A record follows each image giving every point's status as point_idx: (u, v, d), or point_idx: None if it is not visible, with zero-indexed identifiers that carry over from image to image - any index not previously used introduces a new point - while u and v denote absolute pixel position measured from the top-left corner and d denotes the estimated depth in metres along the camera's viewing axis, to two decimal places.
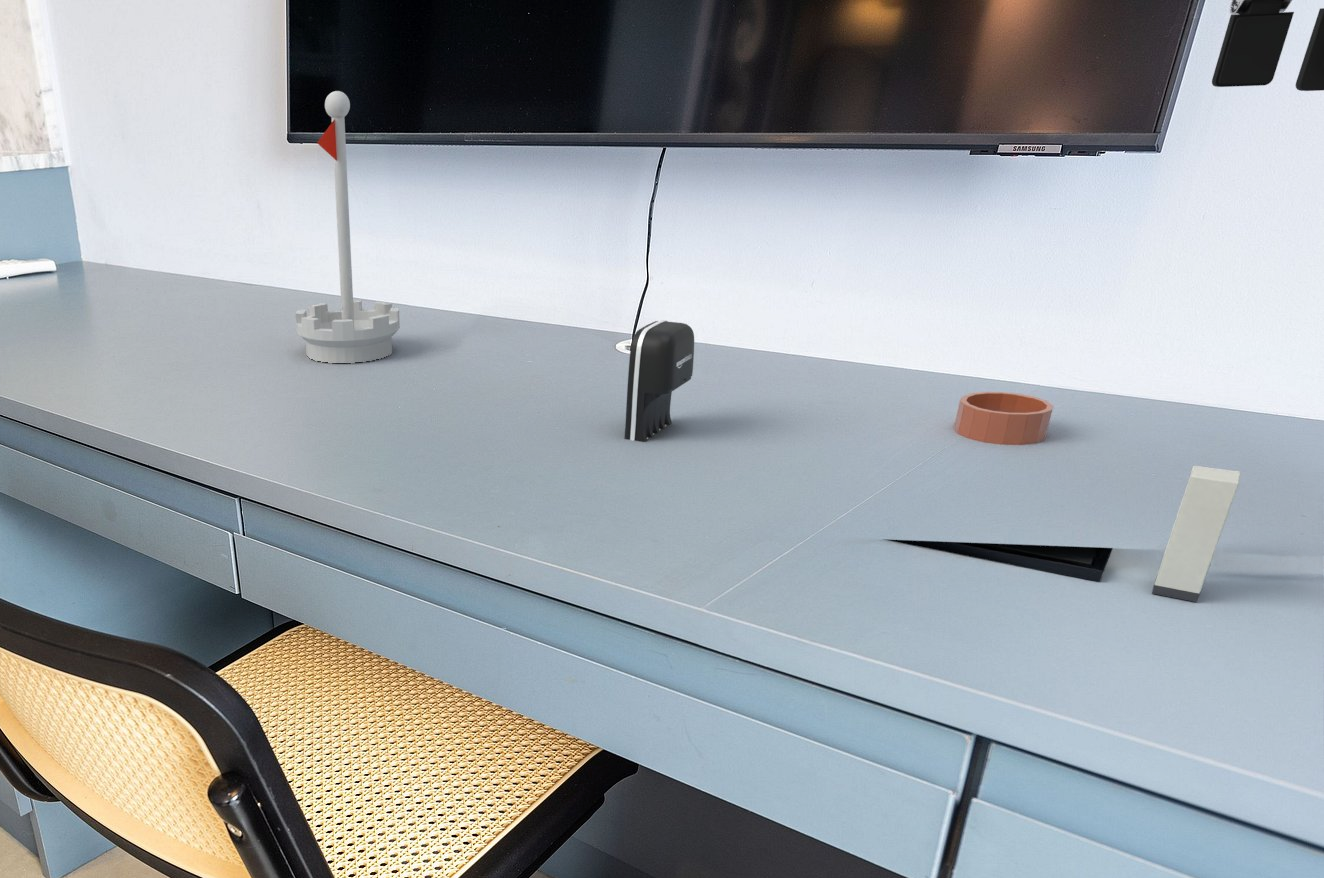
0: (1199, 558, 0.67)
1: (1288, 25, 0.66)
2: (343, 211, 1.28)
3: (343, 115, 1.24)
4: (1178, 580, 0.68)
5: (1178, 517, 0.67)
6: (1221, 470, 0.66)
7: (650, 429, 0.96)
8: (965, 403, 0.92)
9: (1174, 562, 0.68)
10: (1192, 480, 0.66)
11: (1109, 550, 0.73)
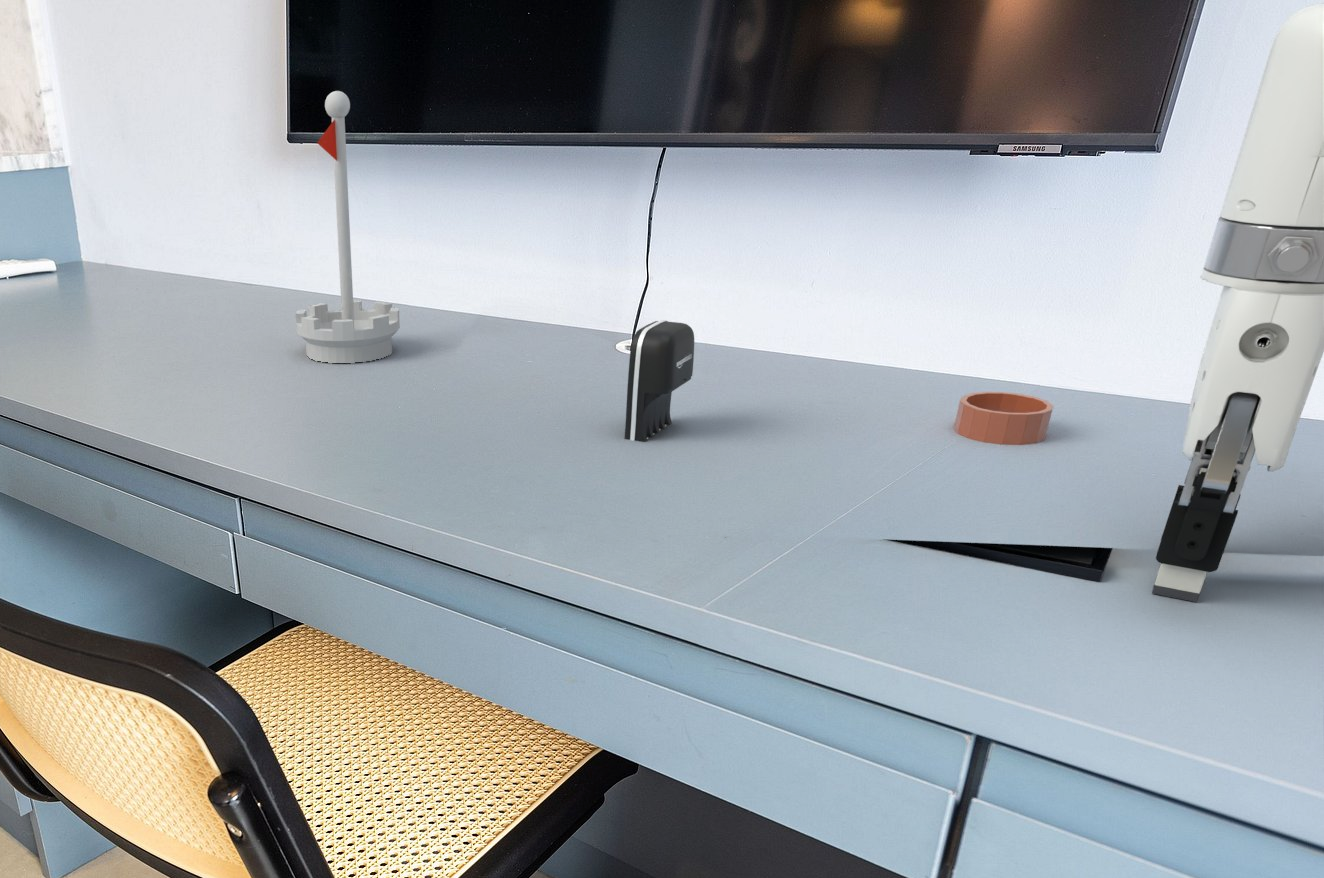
0: None
1: None
2: (343, 211, 1.28)
3: (343, 115, 1.24)
4: (1178, 580, 0.68)
5: None
6: None
7: (650, 429, 0.96)
8: (965, 403, 0.92)
9: None
10: None
11: (1109, 550, 0.73)
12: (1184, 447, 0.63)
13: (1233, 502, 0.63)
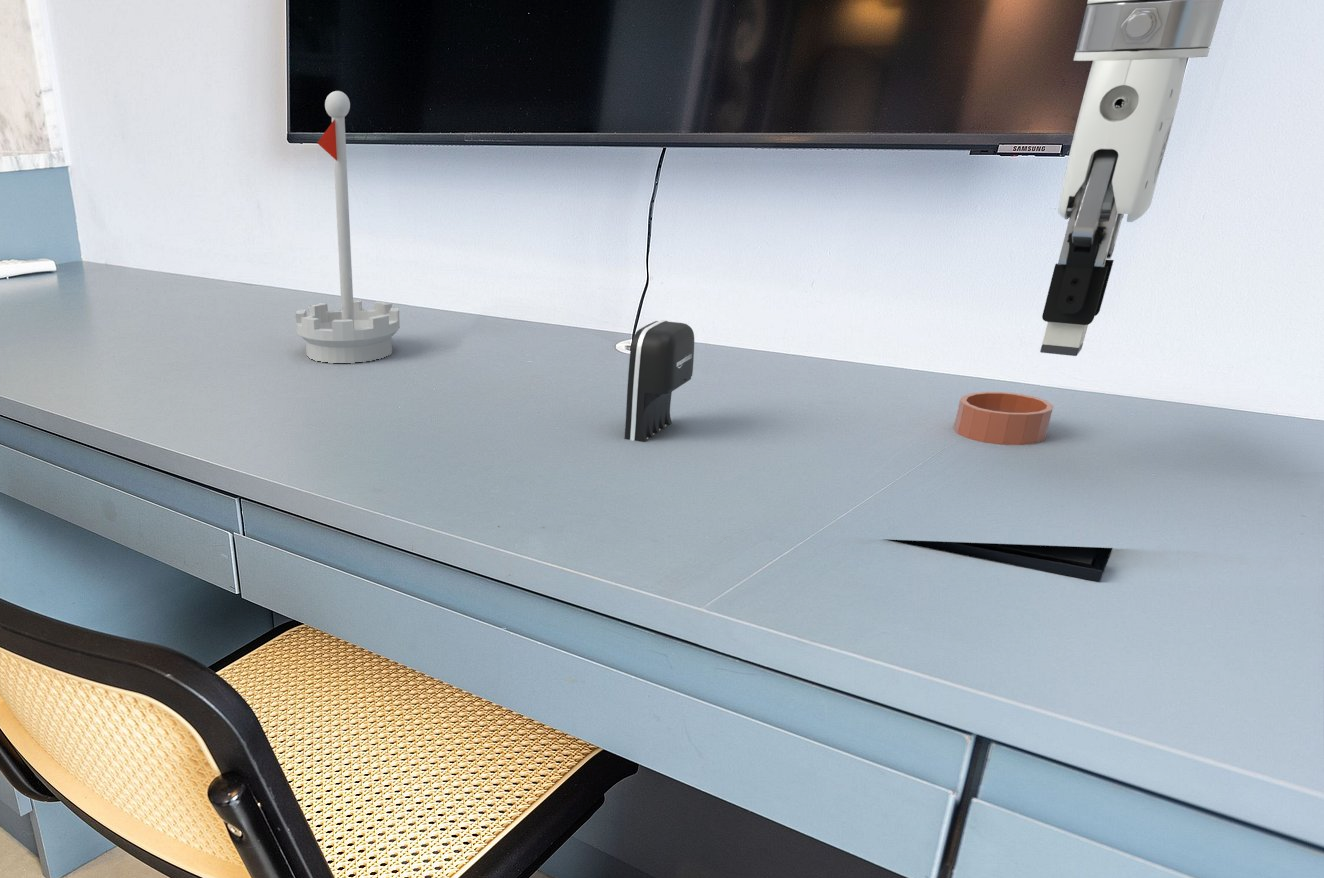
0: None
1: (1107, 271, 0.78)
2: (343, 211, 1.28)
3: (343, 115, 1.24)
4: (1061, 337, 0.79)
5: None
6: None
7: (650, 429, 0.96)
8: (965, 403, 0.92)
9: None
10: None
11: (1109, 550, 0.73)
12: (1059, 206, 0.74)
13: (1101, 255, 0.75)
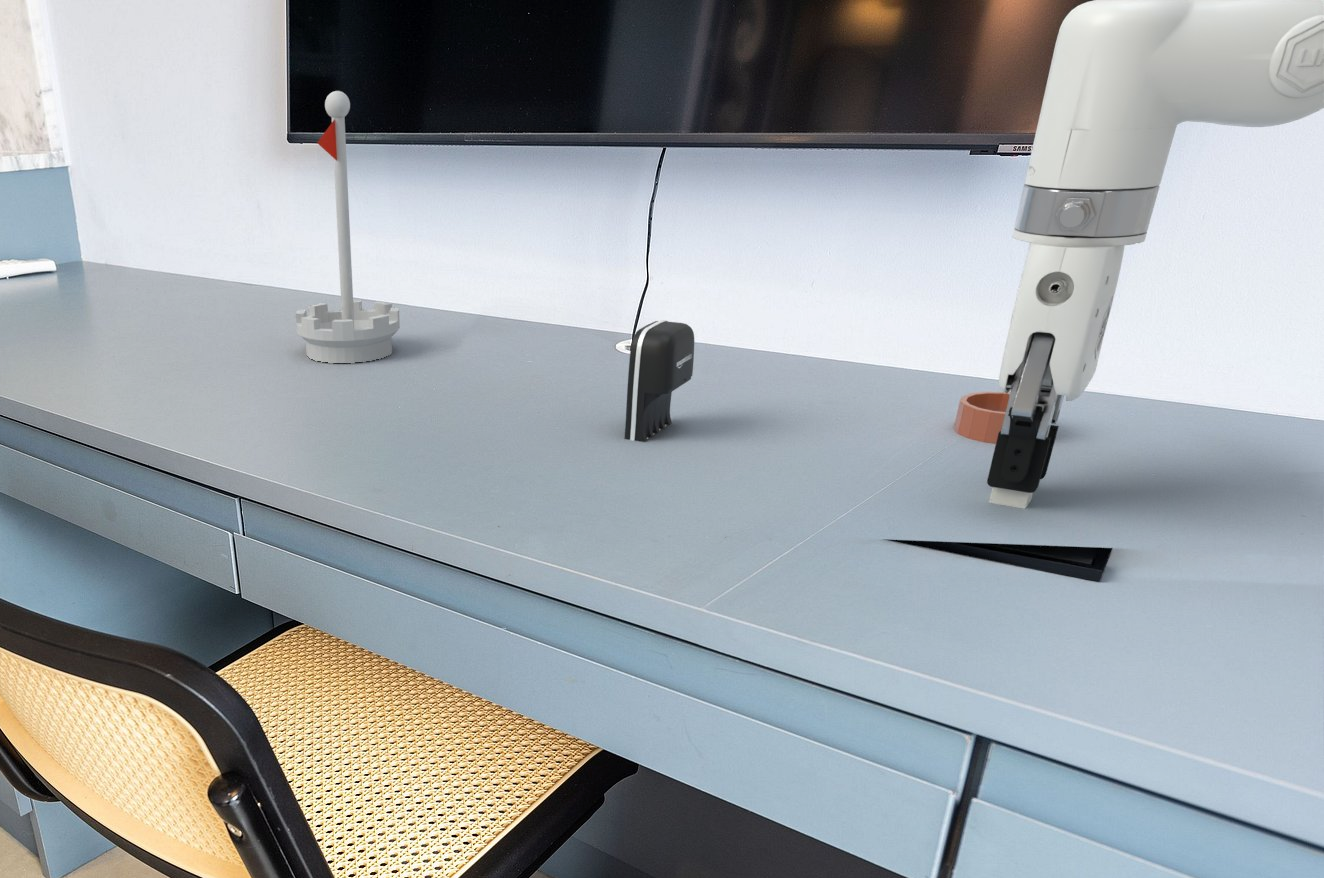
0: None
1: (1052, 437, 0.77)
2: (343, 211, 1.28)
3: (343, 115, 1.24)
4: (1006, 502, 0.78)
5: None
6: (1039, 405, 0.77)
7: (650, 429, 0.96)
8: (965, 403, 0.92)
9: None
10: None
11: (1109, 550, 0.73)
12: (999, 381, 0.73)
13: (1043, 429, 0.74)
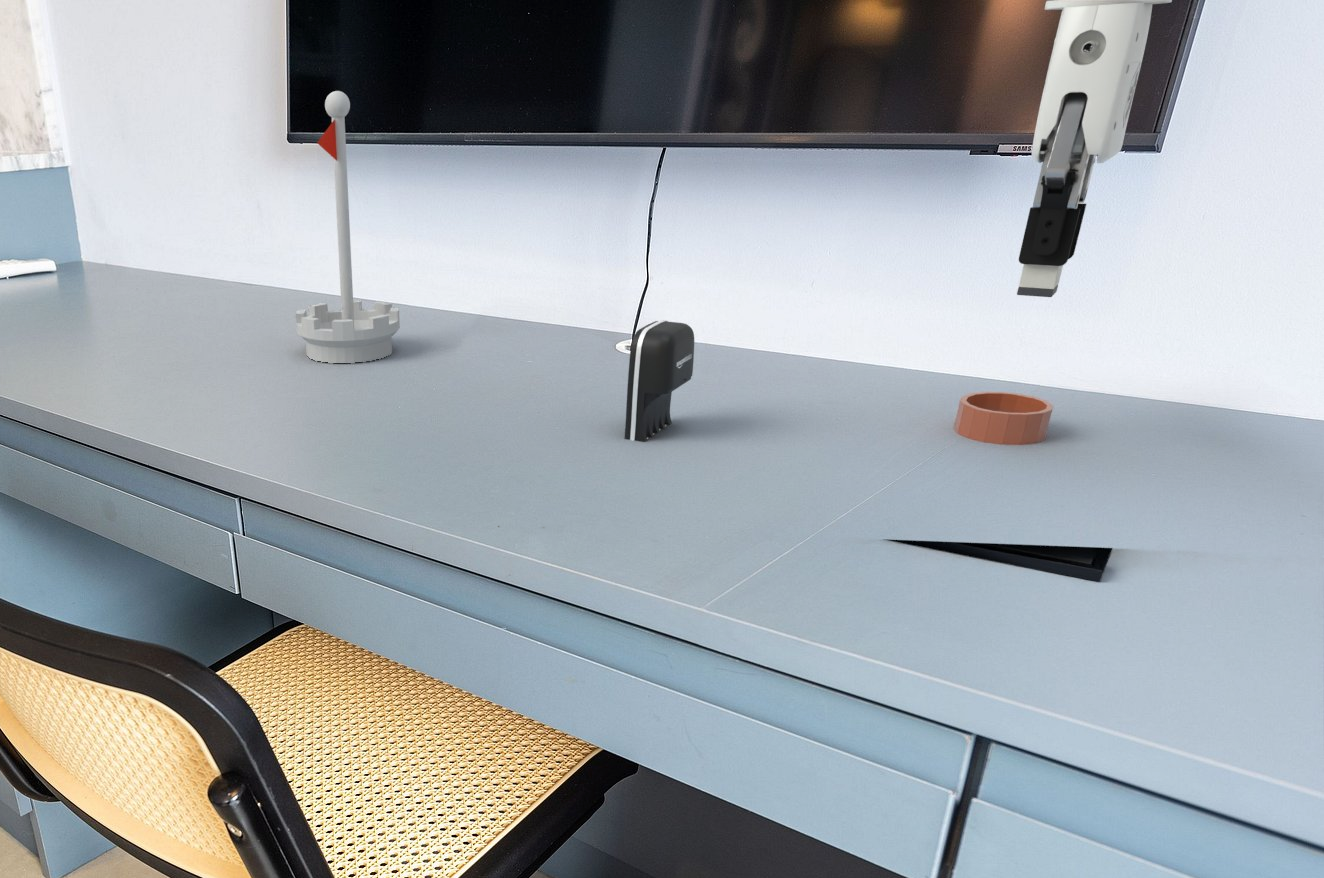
0: None
1: (1080, 214, 0.81)
2: (343, 211, 1.28)
3: (343, 115, 1.24)
4: (1036, 279, 0.82)
5: None
6: None
7: (650, 429, 0.96)
8: (965, 403, 0.92)
9: None
10: None
11: (1109, 550, 0.73)
12: (1032, 149, 0.77)
13: (1074, 197, 0.78)
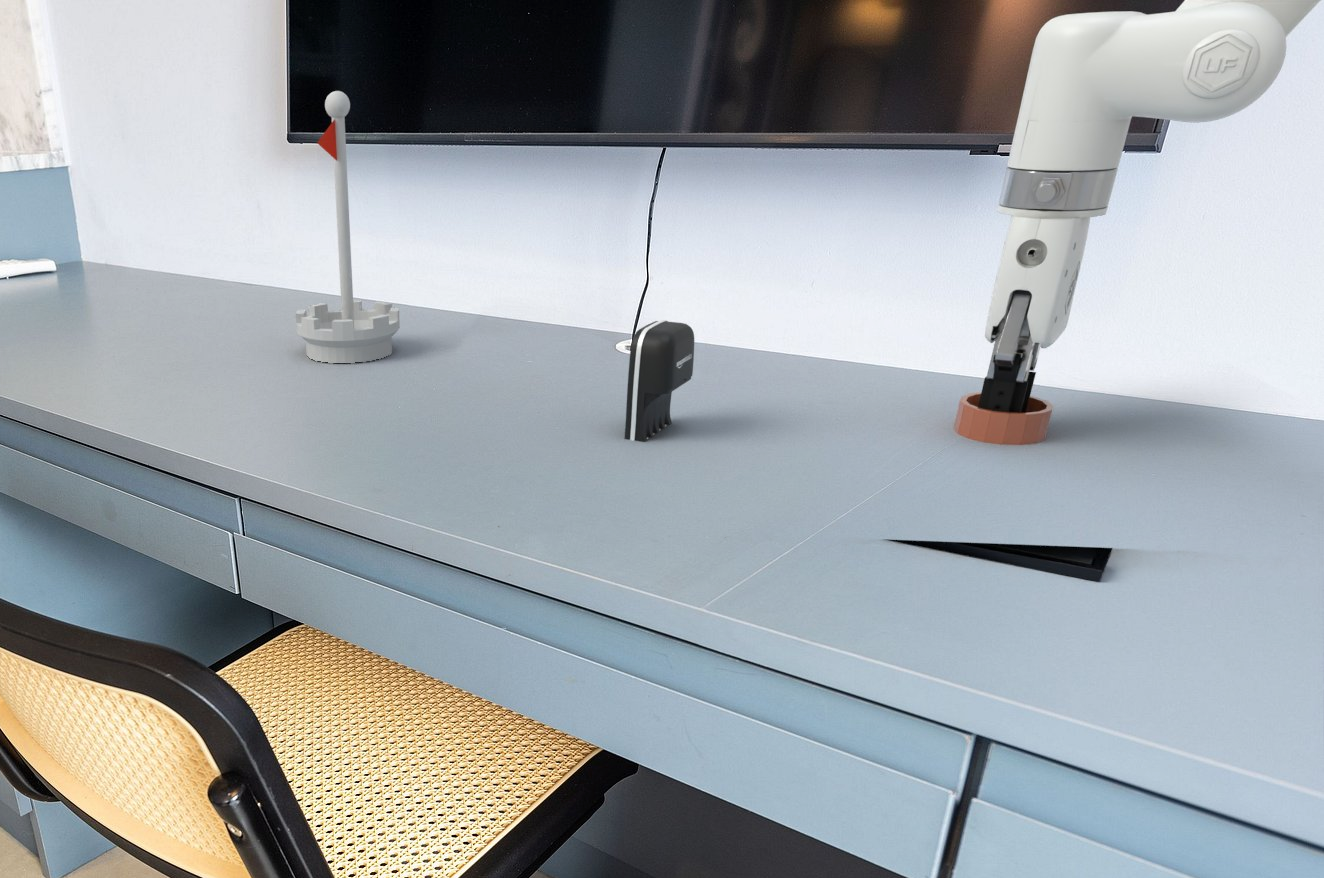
0: None
1: (1030, 382, 0.92)
2: (343, 211, 1.28)
3: (343, 115, 1.24)
4: None
5: None
6: (1020, 353, 0.91)
7: (650, 429, 0.96)
8: (965, 403, 0.92)
9: None
10: None
11: (1109, 550, 0.73)
12: (985, 332, 0.87)
13: (1022, 373, 0.88)
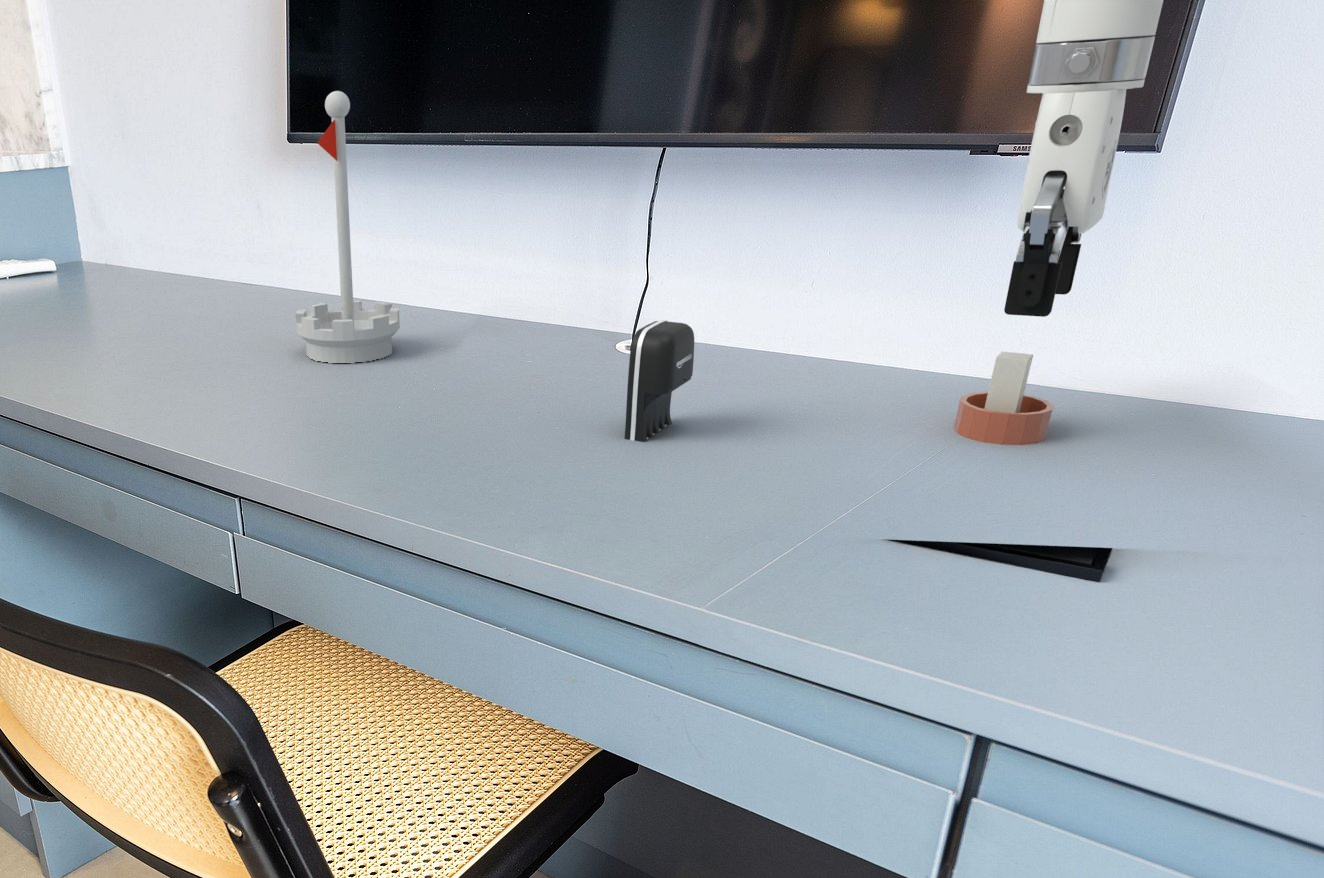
0: None
1: (1076, 254, 0.89)
2: (343, 211, 1.28)
3: (343, 115, 1.24)
4: None
5: (989, 388, 0.91)
6: (1020, 353, 0.91)
7: (650, 429, 0.96)
8: (965, 403, 0.92)
9: None
10: (997, 360, 0.90)
11: (1109, 550, 0.73)
12: (1018, 221, 0.83)
13: (1056, 247, 0.81)
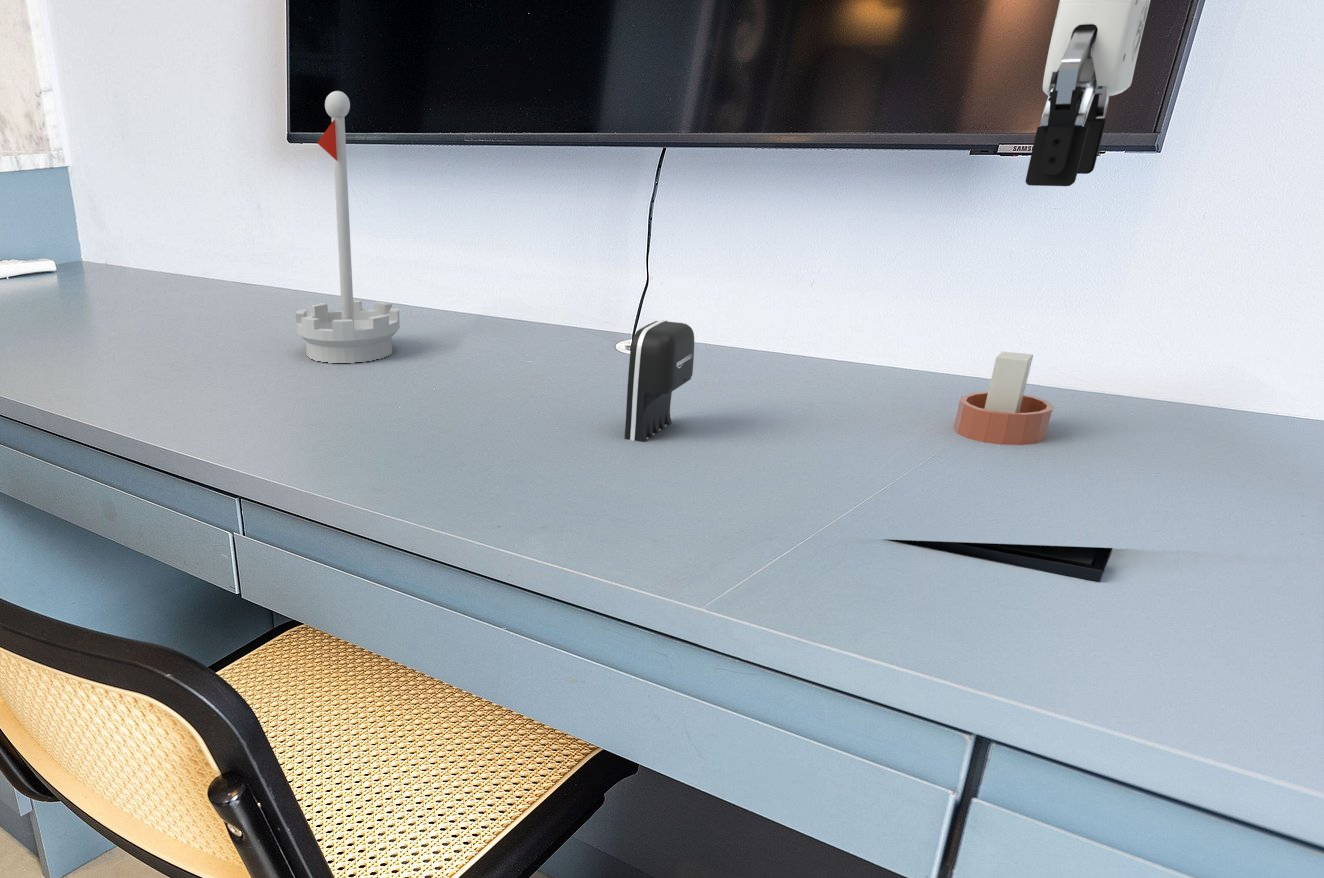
0: None
1: (1100, 129, 0.85)
2: (343, 211, 1.28)
3: (343, 115, 1.24)
4: None
5: (989, 388, 0.91)
6: (1020, 353, 0.91)
7: (650, 429, 0.96)
8: (965, 403, 0.92)
9: None
10: (997, 360, 0.90)
11: (1109, 550, 0.73)
12: (1043, 82, 0.79)
13: (1083, 108, 0.77)
